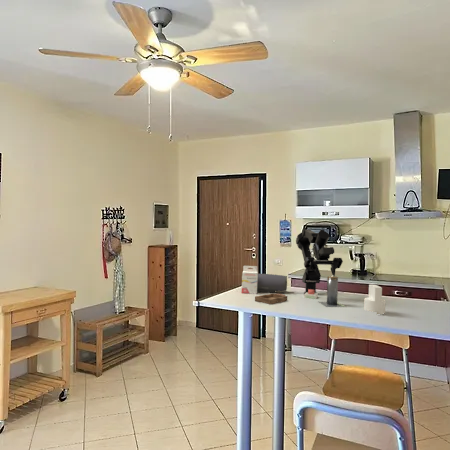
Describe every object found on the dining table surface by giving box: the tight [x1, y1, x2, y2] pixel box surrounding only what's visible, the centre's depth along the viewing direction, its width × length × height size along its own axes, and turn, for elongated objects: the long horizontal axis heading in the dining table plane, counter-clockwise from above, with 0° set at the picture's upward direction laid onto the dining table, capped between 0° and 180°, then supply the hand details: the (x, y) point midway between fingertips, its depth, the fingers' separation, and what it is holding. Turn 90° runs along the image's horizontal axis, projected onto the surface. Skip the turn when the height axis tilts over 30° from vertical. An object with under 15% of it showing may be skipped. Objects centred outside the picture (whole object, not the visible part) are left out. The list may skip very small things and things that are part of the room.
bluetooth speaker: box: [257, 273, 288, 294], centre depth 229 cm, size 23×9×10 cm, turn 77°
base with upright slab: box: [363, 284, 386, 315], centre depth 183 cm, size 9×9×12 cm
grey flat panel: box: [318, 301, 347, 308], centre depth 192 cm, size 12×10×1 cm
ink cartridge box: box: [241, 265, 259, 295], centre depth 223 cm, size 9×5×15 cm, turn 84°
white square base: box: [303, 292, 319, 300], centre depth 209 cm, size 6×6×3 cm
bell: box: [326, 275, 339, 305], centre depth 192 cm, size 5×5×14 cm
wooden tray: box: [254, 293, 288, 305], centre depth 202 cm, size 14×10×2 cm
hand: (326, 275), depth 200 cm, fingers open, 7 cm apart
